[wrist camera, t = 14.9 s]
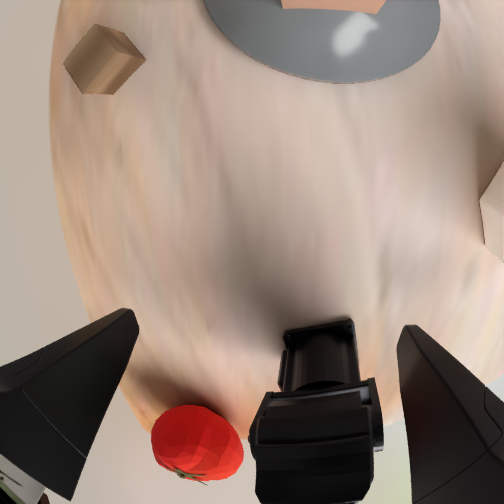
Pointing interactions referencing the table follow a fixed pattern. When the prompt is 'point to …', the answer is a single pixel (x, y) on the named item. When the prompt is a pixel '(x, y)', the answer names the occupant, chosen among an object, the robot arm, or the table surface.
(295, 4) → the tan rectangular block
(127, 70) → the block
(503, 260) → the jar
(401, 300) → the table surface
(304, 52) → the plate
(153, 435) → the tomato
